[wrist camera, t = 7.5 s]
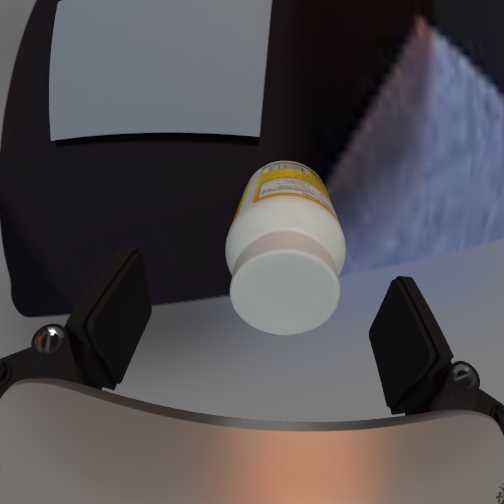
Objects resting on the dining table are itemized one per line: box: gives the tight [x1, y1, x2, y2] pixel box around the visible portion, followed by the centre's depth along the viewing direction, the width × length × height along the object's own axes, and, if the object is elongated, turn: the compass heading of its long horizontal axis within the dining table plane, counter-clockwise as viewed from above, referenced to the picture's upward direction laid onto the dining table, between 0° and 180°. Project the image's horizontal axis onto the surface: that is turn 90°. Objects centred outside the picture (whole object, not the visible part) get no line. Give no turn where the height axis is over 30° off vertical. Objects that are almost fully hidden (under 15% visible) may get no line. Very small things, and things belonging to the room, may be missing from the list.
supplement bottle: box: [226, 161, 346, 335], centre depth 14 cm, size 5×5×10 cm
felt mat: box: [49, 0, 272, 141], centre depth 13 cm, size 16×12×1 cm
